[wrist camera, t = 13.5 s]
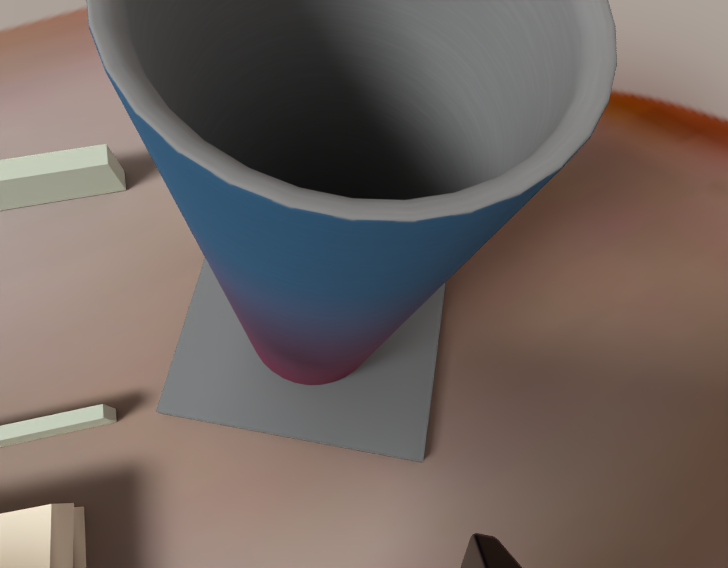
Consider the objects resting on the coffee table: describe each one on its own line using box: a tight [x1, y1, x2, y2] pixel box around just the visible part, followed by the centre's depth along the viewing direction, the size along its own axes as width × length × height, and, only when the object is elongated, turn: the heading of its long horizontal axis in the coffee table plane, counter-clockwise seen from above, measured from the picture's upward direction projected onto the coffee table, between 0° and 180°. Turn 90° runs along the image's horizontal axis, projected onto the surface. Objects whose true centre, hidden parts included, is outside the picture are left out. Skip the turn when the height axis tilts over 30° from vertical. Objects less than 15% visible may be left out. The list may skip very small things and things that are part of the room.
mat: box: [156, 258, 446, 462], centre depth 21 cm, size 10×10×1 cm
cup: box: [87, 0, 617, 385], centre depth 14 cm, size 7×7×15 cm
